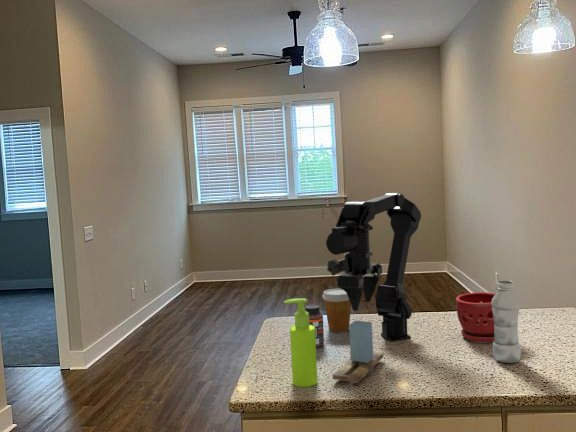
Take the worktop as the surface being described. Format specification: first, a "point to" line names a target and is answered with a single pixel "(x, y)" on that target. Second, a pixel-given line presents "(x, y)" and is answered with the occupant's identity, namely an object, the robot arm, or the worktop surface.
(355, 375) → the slotted wooden board
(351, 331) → the rider
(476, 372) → the worktop surface
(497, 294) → the plastic bottle
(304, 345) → the soap dispenser
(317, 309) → the supplement bottle
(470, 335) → the plant pot
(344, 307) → the disposable coffee cup
